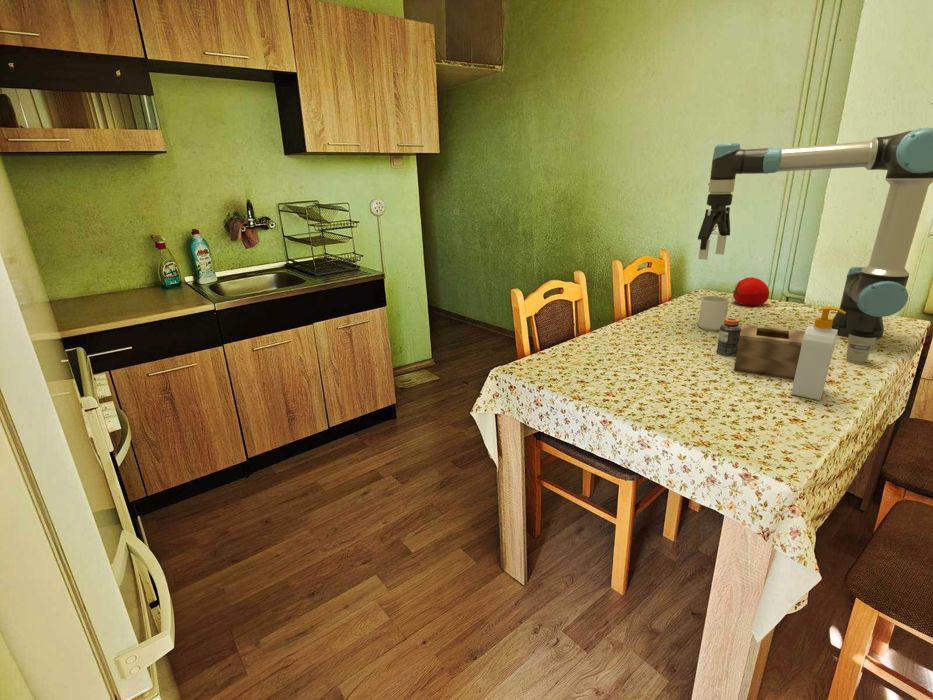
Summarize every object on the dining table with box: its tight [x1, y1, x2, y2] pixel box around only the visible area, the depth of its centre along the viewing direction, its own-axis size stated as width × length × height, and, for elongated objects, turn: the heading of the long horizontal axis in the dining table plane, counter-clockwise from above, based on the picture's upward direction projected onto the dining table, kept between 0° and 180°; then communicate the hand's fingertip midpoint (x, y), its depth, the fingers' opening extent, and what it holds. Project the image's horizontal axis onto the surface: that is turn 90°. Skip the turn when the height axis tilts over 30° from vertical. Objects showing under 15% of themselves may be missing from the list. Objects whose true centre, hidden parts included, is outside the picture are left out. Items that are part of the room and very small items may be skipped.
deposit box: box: [733, 324, 806, 380], centre depth 141 cm, size 16×12×11 cm
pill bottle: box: [716, 317, 742, 357], centre depth 153 cm, size 6×6×11 cm
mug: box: [697, 295, 730, 332], centre depth 179 cm, size 12×9×11 cm
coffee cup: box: [845, 327, 878, 364], centre depth 144 cm, size 7×7×10 cm
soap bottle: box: [791, 306, 846, 401], centre depth 123 cm, size 9×7×23 cm
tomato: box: [732, 276, 770, 307], centre depth 207 cm, size 13×13×13 cm
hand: (711, 256), depth 170 cm, fingers open, 13 cm apart
